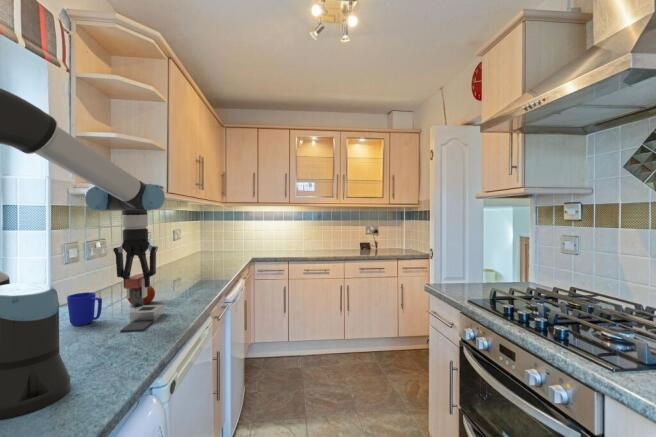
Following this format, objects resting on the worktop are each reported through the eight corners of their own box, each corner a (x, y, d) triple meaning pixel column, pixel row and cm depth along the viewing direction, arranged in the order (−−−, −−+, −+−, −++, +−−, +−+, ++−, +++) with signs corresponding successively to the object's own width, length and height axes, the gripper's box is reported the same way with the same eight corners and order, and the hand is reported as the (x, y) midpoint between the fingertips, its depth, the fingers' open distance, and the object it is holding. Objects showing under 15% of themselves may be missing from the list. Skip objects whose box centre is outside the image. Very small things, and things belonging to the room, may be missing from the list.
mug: (91, 328, 117) (90, 298, 117) (61, 326, 119) (60, 297, 119) (111, 320, 125) (110, 293, 125) (82, 319, 127) (82, 291, 127)
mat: (143, 330, 114) (143, 329, 114) (120, 332, 113) (120, 330, 113) (153, 322, 123) (153, 320, 122) (132, 323, 122) (132, 321, 122)
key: (149, 302, 122) (148, 274, 122) (138, 309, 114) (137, 279, 113) (136, 302, 122) (136, 274, 122) (125, 310, 113) (124, 279, 113)
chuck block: (153, 321, 123) (153, 312, 123) (129, 323, 122) (129, 313, 122) (163, 313, 133) (163, 304, 133) (141, 314, 132) (141, 305, 132)
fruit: (126, 303, 149) (126, 285, 148) (153, 300, 154) (153, 282, 154) (128, 309, 140) (127, 289, 140) (156, 305, 145) (156, 286, 145)
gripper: (165, 227, 122) (167, 293, 122) (113, 228, 120) (115, 295, 120) (158, 228, 114) (160, 298, 115) (102, 229, 112) (104, 301, 113)
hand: (137, 297), depth 118 cm, fingers closed on key, 4 cm apart
